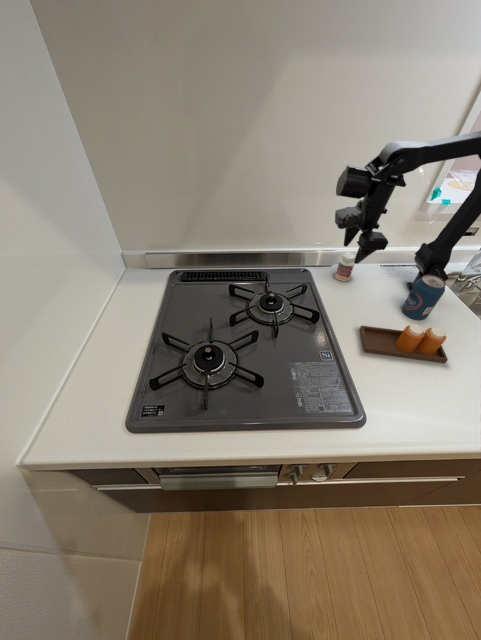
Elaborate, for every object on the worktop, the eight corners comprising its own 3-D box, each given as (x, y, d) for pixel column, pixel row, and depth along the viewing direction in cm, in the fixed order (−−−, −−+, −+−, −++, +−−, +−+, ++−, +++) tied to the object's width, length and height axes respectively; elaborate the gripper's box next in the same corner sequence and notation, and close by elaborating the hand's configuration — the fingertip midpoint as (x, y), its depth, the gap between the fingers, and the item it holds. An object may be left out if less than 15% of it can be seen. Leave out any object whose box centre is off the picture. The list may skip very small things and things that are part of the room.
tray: (359, 330, 76) (361, 325, 75) (433, 340, 74) (437, 334, 73) (363, 353, 70) (366, 348, 69) (443, 364, 68) (448, 359, 67)
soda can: (395, 307, 83) (413, 274, 75) (416, 304, 84) (436, 272, 76) (409, 323, 78) (430, 290, 70) (431, 320, 79) (454, 287, 71)
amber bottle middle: (394, 338, 73) (404, 321, 69) (411, 340, 73) (423, 323, 68) (397, 351, 70) (409, 334, 66) (416, 353, 70) (428, 336, 65)
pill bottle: (349, 282, 92) (357, 260, 86) (335, 280, 92) (342, 258, 86) (348, 273, 95) (356, 252, 89) (334, 272, 96) (341, 250, 90)
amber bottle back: (413, 341, 73) (425, 323, 68) (431, 343, 72) (444, 326, 68) (418, 354, 70) (431, 337, 65) (437, 356, 69) (451, 339, 65)
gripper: (334, 183, 76) (316, 236, 86) (358, 214, 62) (333, 271, 73) (372, 188, 77) (349, 239, 88) (403, 219, 64) (372, 274, 75)
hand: (350, 254), depth 81 cm, fingers open, 9 cm apart
